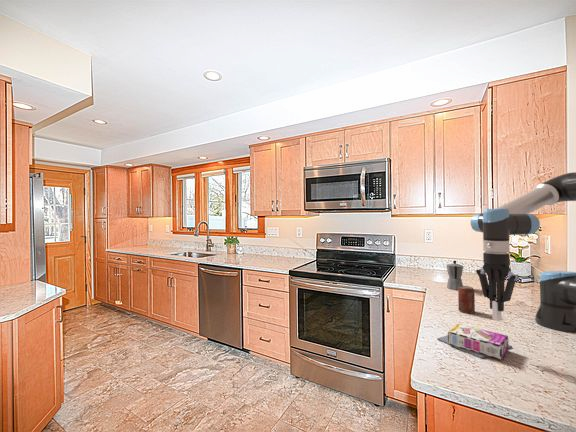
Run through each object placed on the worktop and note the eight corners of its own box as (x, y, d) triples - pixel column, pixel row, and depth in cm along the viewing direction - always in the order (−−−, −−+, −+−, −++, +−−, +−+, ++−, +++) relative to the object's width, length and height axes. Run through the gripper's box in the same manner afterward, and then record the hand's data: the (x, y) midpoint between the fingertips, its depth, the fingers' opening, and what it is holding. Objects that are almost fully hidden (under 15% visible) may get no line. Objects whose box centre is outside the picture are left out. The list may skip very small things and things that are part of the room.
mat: (466, 331, 120) (466, 329, 120) (511, 347, 105) (511, 345, 105) (437, 339, 112) (437, 338, 112) (481, 358, 97) (481, 357, 97)
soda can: (460, 308, 148) (460, 284, 148) (476, 311, 143) (476, 287, 143) (456, 311, 143) (456, 287, 143) (472, 314, 138) (472, 289, 138)
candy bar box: (501, 345, 95) (447, 331, 106) (502, 360, 95) (447, 344, 106) (508, 334, 102) (457, 323, 114) (508, 348, 102) (457, 335, 114)
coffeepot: (446, 285, 194) (445, 258, 194) (462, 286, 190) (462, 259, 190) (447, 291, 180) (447, 262, 180) (465, 292, 176) (464, 263, 176)
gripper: (470, 251, 106) (471, 315, 106) (510, 255, 94) (511, 327, 94) (483, 249, 109) (484, 312, 109) (523, 253, 97) (524, 323, 97)
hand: (496, 319), depth 102 cm, fingers closed
